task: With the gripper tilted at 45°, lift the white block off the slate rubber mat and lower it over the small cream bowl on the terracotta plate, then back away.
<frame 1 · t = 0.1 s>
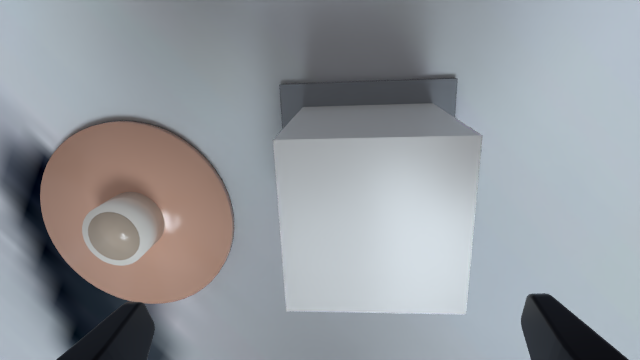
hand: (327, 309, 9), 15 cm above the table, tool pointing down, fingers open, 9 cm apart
mat: (366, 165, 24), on the table
plate: (139, 216, 26), on the table
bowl: (135, 220, 26), resting on plate
white block: (369, 192, 19), on the mat
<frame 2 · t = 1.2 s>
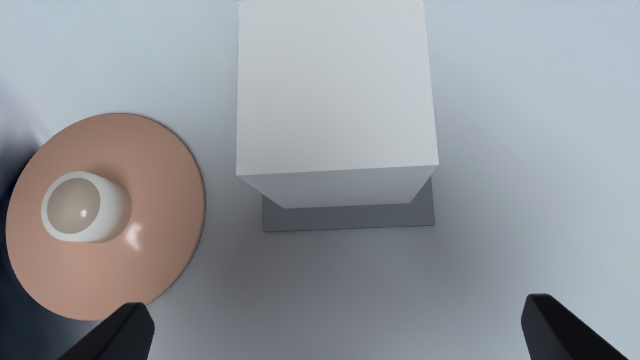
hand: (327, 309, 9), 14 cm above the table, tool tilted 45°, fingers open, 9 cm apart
mat: (343, 147, 24), on the table
plate: (107, 212, 25), on the table
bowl: (101, 211, 24), resting on plate
white block: (338, 119, 19), on the mat
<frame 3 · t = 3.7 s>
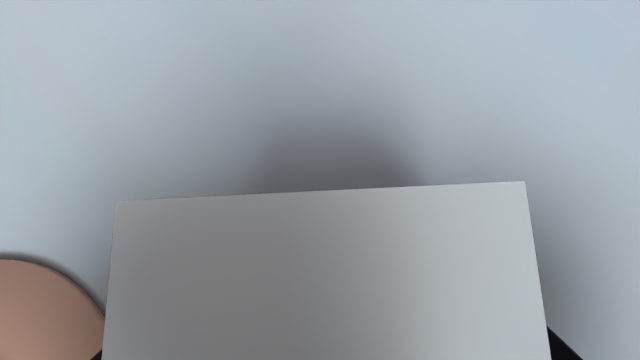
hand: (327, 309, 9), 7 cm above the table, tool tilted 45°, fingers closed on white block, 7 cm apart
white block: (334, 356, 11), on the mat, touching gripper
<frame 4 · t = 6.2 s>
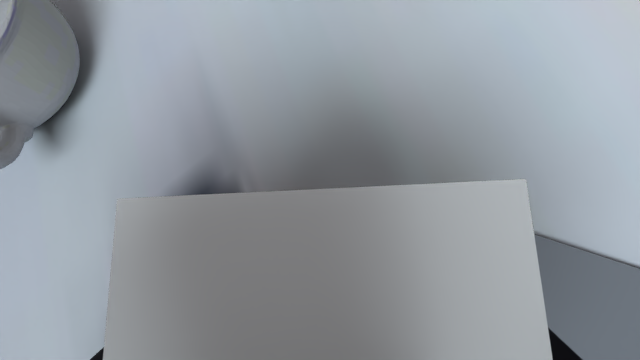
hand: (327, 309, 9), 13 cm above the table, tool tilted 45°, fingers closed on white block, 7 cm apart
mat: (591, 354, 20), on the table
teacup: (38, 102, 27), on the table
white block: (335, 354, 11), point 12 cm above the table, touching gripper
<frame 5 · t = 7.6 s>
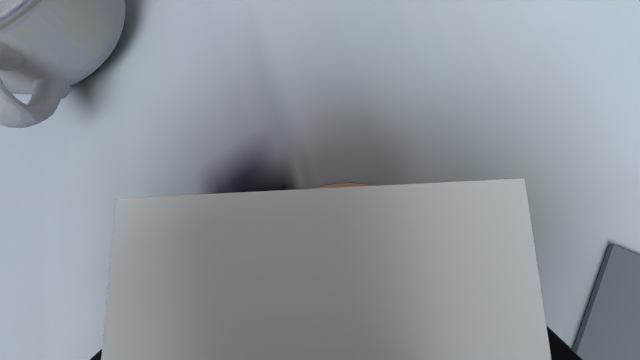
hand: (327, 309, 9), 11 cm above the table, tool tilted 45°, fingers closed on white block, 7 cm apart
teacup: (75, 58, 25), on the table
white block: (334, 354, 11), point 10 cm above the table, touching gripper
when the fingers open (8 cm above the table, at t = 8.8 s): white block drops 1 cm, resting on plate.
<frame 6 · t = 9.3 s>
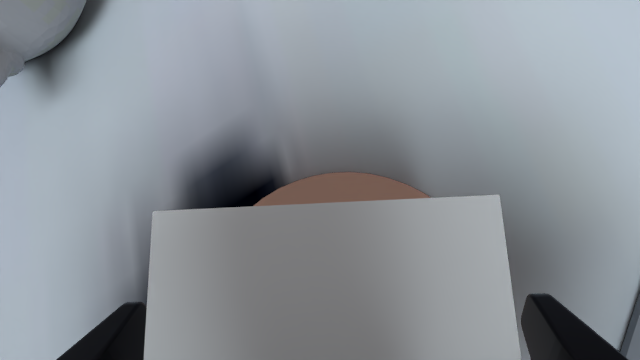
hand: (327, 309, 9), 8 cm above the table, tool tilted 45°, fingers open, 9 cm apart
plate: (345, 321, 17), on the table
teacup: (37, 33, 22), on the table
white block: (338, 345, 12), on the plate, point 5 cm above the table
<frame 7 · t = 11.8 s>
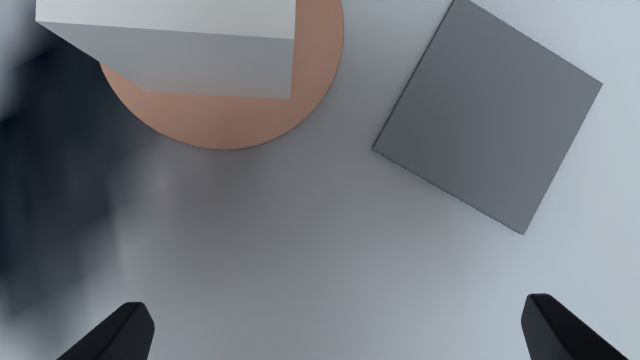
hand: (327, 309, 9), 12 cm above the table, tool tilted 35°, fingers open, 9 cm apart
mat: (487, 116, 22), on the table
plate: (223, 29, 21), on the table
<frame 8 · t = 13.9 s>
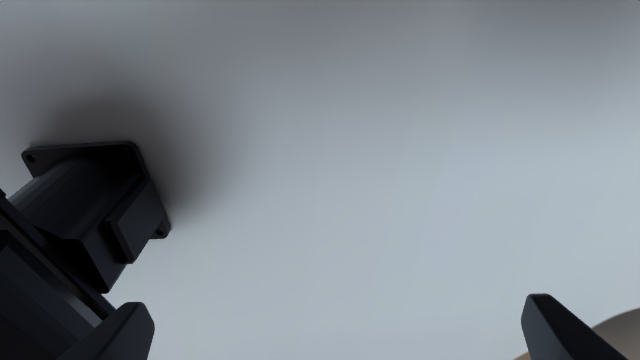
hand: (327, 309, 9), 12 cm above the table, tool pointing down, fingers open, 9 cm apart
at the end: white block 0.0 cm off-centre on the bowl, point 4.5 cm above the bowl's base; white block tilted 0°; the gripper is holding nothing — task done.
